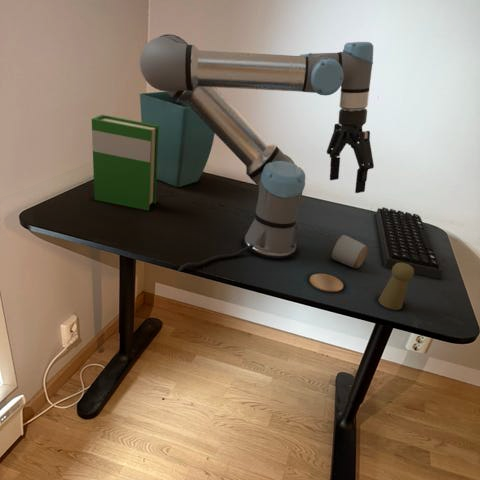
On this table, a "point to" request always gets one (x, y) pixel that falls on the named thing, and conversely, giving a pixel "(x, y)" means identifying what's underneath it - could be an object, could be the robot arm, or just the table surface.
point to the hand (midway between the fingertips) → (346, 185)
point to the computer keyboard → (406, 242)
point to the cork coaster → (326, 282)
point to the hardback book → (125, 161)
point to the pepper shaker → (396, 286)
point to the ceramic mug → (349, 252)
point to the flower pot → (177, 138)
